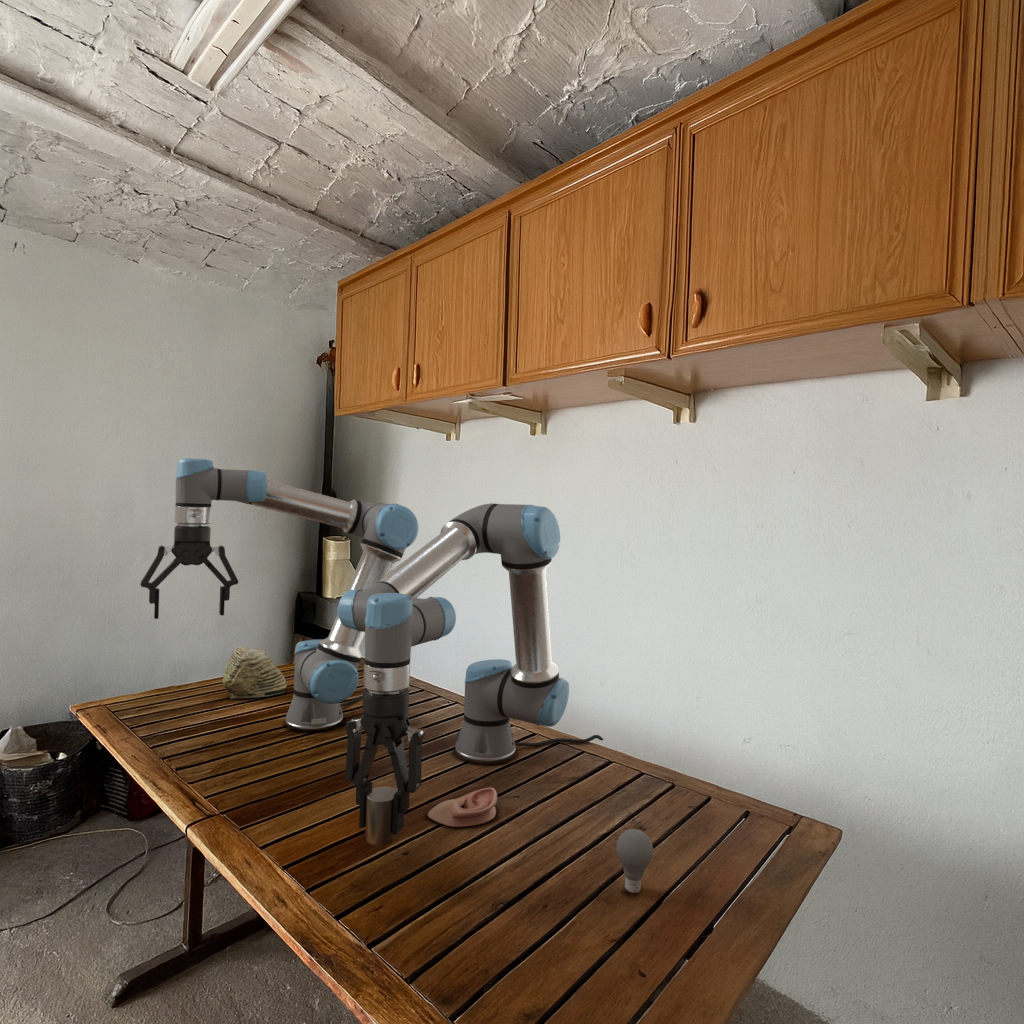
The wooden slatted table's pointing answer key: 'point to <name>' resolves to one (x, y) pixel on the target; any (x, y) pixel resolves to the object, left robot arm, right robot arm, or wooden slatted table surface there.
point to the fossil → (252, 674)
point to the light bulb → (634, 857)
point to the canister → (379, 816)
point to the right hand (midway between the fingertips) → (381, 826)
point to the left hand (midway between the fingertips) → (189, 616)
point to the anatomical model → (466, 809)
